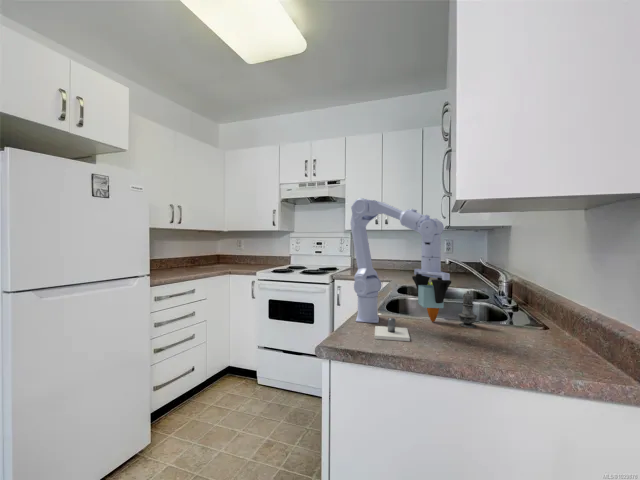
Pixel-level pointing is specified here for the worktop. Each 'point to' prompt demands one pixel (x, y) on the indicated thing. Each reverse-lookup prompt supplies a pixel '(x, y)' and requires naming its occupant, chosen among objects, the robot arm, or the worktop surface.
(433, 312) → the carrot
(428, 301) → the sleeve
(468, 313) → the grey chess piece
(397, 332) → the post base
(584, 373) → the worktop surface
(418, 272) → the robot arm
